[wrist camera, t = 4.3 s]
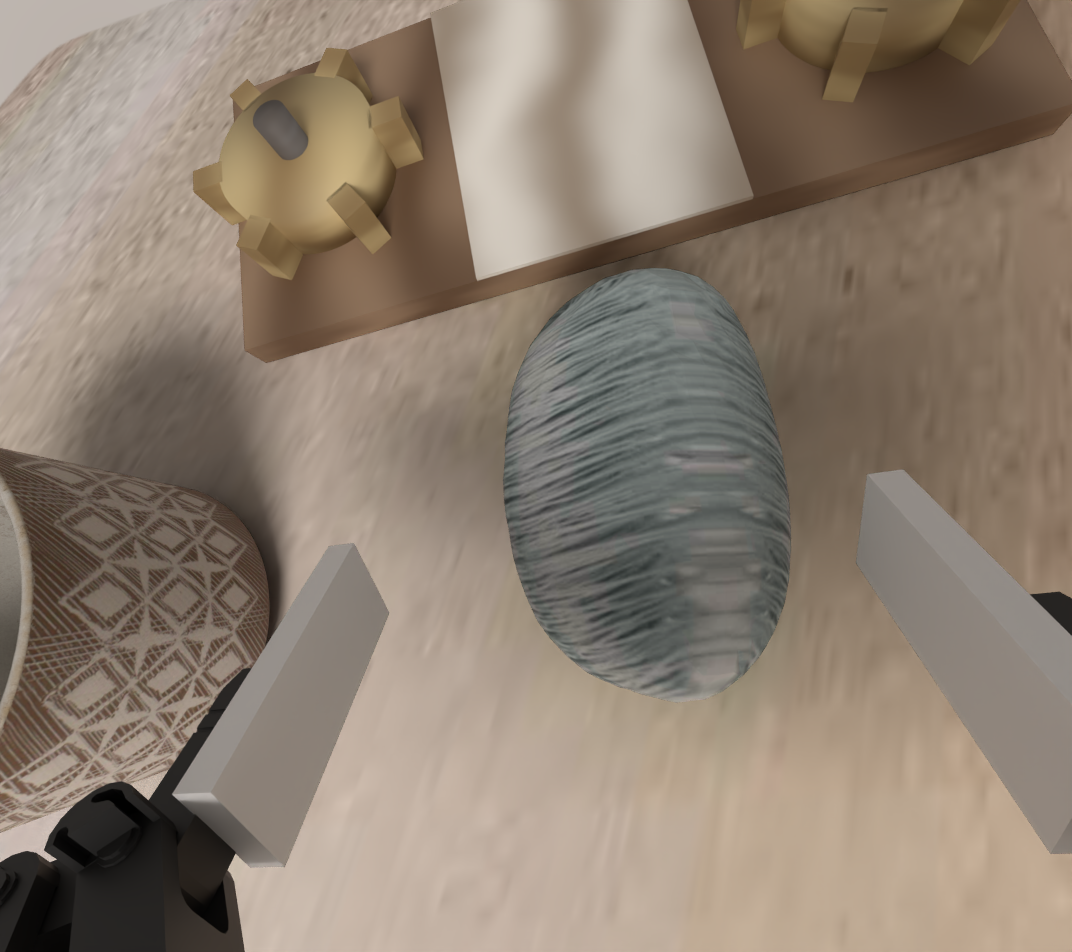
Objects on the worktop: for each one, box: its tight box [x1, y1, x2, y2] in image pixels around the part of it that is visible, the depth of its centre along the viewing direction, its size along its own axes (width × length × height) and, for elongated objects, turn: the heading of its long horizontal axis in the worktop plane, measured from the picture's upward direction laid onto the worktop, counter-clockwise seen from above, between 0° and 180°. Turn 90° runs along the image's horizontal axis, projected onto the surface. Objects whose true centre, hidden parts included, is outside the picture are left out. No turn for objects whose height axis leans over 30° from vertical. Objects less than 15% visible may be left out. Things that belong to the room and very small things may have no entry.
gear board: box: [193, 0, 1072, 363], centre depth 23 cm, size 37×16×6 cm, turn 100°
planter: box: [0, 448, 269, 833], centre depth 20 cm, size 13×13×10 cm
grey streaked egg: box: [503, 268, 791, 703], centre depth 18 cm, size 14×10×10 cm
